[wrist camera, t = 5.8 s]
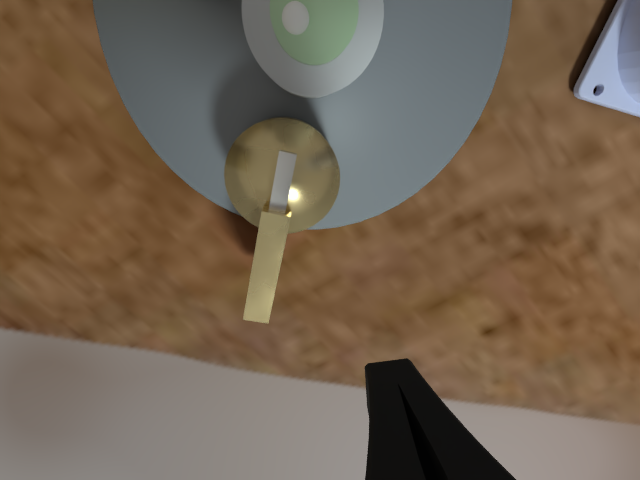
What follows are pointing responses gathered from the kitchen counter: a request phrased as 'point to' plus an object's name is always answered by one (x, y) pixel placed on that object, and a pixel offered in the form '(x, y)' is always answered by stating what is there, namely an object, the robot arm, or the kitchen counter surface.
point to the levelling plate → (357, 123)
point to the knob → (278, 194)
